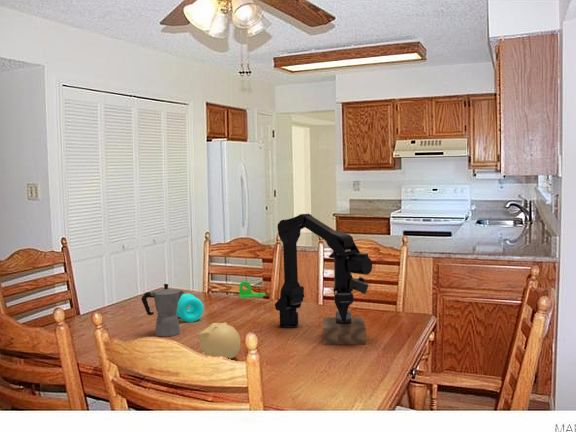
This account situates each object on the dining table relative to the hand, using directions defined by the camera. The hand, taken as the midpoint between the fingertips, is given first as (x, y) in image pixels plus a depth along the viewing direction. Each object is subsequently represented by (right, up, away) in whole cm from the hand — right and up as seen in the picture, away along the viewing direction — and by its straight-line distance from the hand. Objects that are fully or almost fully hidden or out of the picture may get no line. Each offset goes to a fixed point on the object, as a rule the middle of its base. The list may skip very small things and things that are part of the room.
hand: (343, 317), depth 187 cm
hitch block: (0, -7, 0) cm, 7 cm away
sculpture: (-39, -9, -18) cm, 44 cm away
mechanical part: (-35, -4, +70) cm, 78 cm away
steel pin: (0, -7, 0) cm, 7 cm away
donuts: (-58, -7, +30) cm, 66 cm away
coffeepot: (-63, -8, +11) cm, 65 cm away
